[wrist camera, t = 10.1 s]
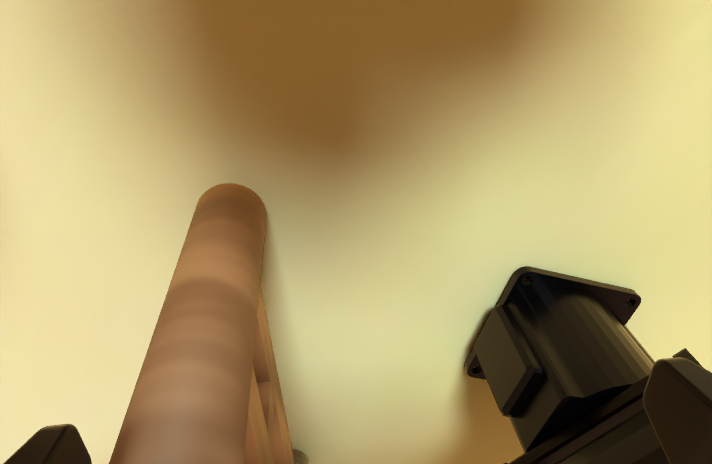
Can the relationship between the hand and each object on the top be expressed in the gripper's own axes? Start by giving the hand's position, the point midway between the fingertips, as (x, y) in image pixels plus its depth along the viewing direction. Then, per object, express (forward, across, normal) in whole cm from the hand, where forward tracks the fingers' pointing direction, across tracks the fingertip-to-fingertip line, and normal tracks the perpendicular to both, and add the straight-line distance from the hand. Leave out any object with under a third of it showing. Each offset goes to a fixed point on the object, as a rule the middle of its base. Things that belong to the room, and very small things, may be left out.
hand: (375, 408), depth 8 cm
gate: (+12, +4, +9) cm, 16 cm away
